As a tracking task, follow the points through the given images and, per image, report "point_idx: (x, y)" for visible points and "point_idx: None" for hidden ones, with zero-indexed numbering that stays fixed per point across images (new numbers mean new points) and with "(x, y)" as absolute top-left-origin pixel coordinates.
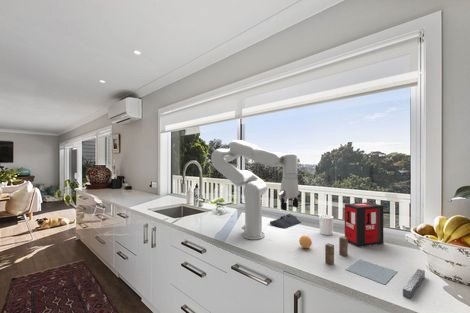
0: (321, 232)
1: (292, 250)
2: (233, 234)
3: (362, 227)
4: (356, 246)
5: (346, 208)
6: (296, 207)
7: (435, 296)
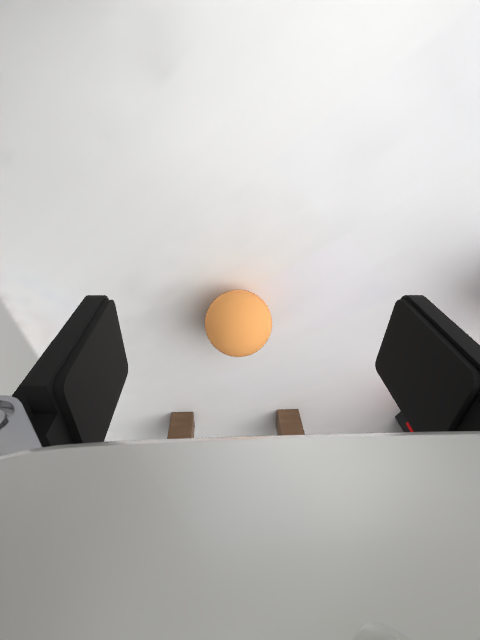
0: None
1: (156, 284)
2: None
3: None
4: (399, 413)
5: None
6: (376, 359)
7: None
